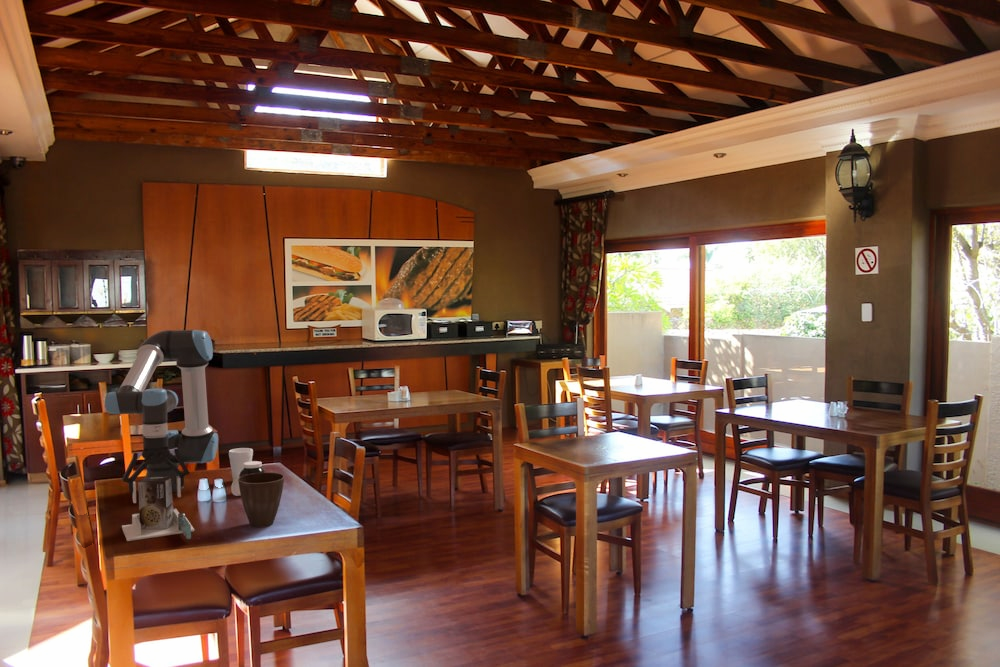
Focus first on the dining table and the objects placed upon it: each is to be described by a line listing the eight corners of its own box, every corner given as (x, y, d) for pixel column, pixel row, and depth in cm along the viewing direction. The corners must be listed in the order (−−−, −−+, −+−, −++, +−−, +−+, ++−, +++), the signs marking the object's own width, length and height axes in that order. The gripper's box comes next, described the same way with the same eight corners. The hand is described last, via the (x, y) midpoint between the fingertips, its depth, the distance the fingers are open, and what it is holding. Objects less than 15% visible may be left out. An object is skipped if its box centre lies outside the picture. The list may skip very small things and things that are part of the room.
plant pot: (292, 524, 260) (292, 477, 259) (251, 533, 250) (250, 485, 249) (272, 515, 271) (271, 470, 270) (231, 523, 261) (230, 477, 260)
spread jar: (268, 489, 306) (268, 461, 306) (259, 497, 295) (259, 467, 295) (239, 489, 307) (238, 460, 306) (228, 497, 295) (227, 467, 295)
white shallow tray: (121, 527, 256) (121, 515, 256) (185, 518, 267) (185, 506, 266) (127, 541, 242) (126, 528, 242) (194, 531, 252) (194, 518, 252)
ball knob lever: (178, 528, 252) (177, 513, 251) (184, 527, 253) (184, 512, 252) (185, 540, 239) (185, 525, 239) (192, 539, 240) (192, 524, 240)
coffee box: (174, 523, 259) (173, 476, 258) (167, 529, 252) (166, 480, 251) (146, 524, 258) (145, 476, 257) (138, 529, 252) (137, 481, 251)
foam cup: (234, 484, 314) (234, 453, 314) (225, 481, 321) (225, 450, 320) (257, 481, 321) (256, 450, 320) (247, 477, 327) (246, 447, 327)
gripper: (114, 441, 244) (116, 507, 245) (197, 434, 257) (198, 496, 258) (112, 437, 251) (114, 501, 252) (193, 430, 263) (194, 491, 265)
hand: (157, 499), depth 255 cm, fingers open, 13 cm apart
